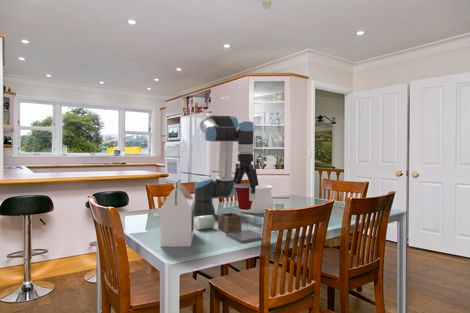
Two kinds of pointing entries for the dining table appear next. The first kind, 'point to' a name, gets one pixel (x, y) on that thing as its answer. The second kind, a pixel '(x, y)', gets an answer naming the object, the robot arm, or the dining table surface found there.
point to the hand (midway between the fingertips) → (245, 198)
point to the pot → (261, 200)
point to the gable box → (177, 218)
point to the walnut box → (229, 222)
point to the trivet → (244, 236)
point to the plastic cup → (243, 196)
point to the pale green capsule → (204, 222)
